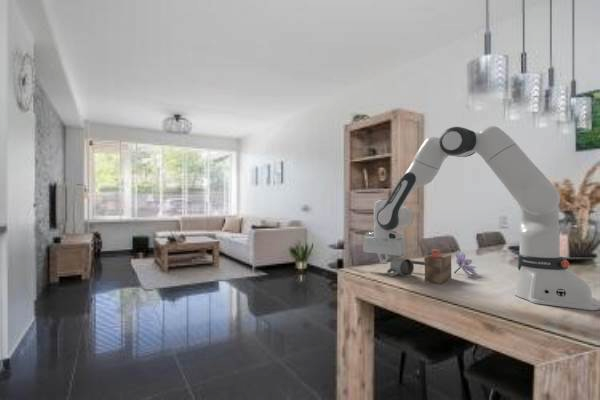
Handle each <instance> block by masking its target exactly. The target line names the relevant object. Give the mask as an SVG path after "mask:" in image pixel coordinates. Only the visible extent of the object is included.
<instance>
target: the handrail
mask: <svg viewBox="0 0 600 400" xmlns="http://www.w3.org/2000/svg"><path fill="white" fill-rule="evenodd" d="M410 260H411V259H410ZM411 261H412V262H413V265H420V266H425V261H421V260H411Z"/></svg>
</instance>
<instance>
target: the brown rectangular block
mask: <svg viewBox="0 0 600 400" xmlns="http://www.w3.org/2000/svg"><path fill="white" fill-rule="evenodd" d="M423 259H424V261H423V262H425V265H424V283H426V284H432V285H439V286H441V285H443V284H444V283H446V282H448V281H449V280H451V279H452V254H446V253H440V258H432V254H430V255H428V256H426V257H424V258H423Z"/></svg>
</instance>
